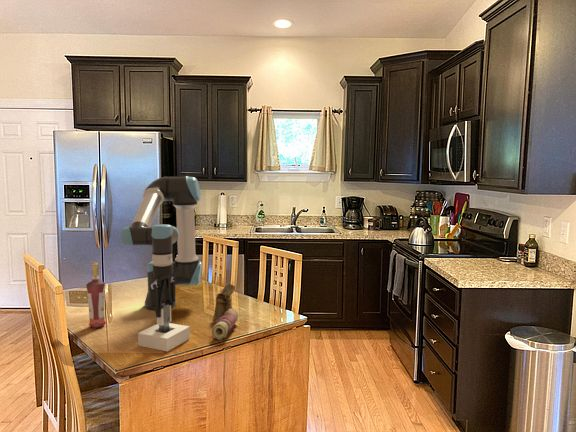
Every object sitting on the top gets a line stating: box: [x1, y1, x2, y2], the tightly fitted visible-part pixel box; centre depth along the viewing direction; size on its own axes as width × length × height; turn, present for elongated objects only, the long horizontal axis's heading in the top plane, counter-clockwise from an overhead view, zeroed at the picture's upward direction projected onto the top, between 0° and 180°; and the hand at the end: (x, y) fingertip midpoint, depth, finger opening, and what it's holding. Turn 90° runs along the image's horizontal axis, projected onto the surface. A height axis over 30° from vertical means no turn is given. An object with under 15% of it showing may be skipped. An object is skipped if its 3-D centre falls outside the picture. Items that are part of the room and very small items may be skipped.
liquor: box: [86, 262, 107, 329], centre depth 187 cm, size 7×7×28 cm
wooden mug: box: [212, 284, 236, 322], centre depth 197 cm, size 9×14×18 cm, turn 29°
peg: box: [159, 303, 170, 333], centre depth 170 cm, size 4×4×12 cm
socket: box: [137, 322, 191, 352], centre depth 171 cm, size 14×14×5 cm
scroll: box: [211, 308, 239, 340], centre depth 183 cm, size 8×8×20 cm
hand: (164, 322), depth 171 cm, fingers closed on peg, 4 cm apart
